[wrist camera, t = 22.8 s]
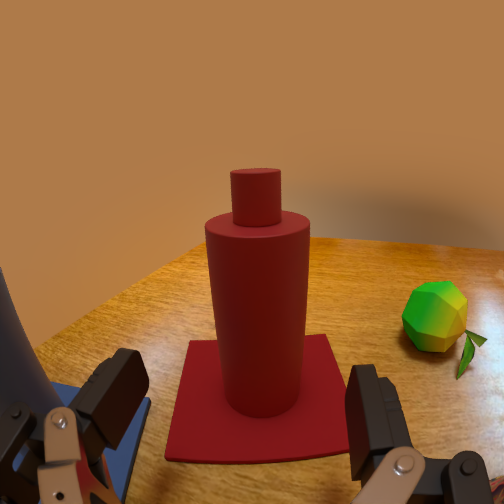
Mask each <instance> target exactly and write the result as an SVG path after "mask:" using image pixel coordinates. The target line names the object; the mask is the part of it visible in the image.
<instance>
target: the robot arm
mask: <svg viewBox="0 0 504 504" xmlns="http://www.w3.org/2000/svg"><path fill="white" fill-rule="evenodd" d="M148 388H149V377H148V374H147V372H146V369H145V366H144V363H143V360H142V357H141V354H140V352H139V351H137V350H131V349H126V348H119V349H118V350H117V351H116V353H115V354H114V355H113V357H112V358H108V359H106V360H105V361H103V362H102V363H101V364H99V365H98V367H97V368H96V369H95V370H94V372H93V375H91V376H90V377H89V378H88V381H87V382H85V384H84V385H83V386H82V388H81V389H80V390H79V392H78V393H77V394H76V396H75V397H74V399H73V400H72V401H71V403H70V404H69V405H68V406H67V407H57V408H54V409H52V410H51V411H50V412H49V413H48V414H43V413H35V412H32V410H31V409H30V408H29V406H28V405H27V404H26V403H24V402H15V403H13V404H11V405H10V406H9V407H8V408H7V409H6V410H5V412H4V413H3V414H2V416H1V417H0V504H38V503H39V501H40V499H41V504H122V503H121V501H120V500H119V498H118V497H117V495H116V493H115V491H114V487H113V484H112V481H111V477H110V474H109V470H108V466H107V463H106V459H105V455H104V453H103V451H104V449H105V447H106V448H109V449H112V450H115V451H116V450H117V448H118V446H119V444H120V442H121V440H122V438H123V436H124V434H125V433H126V431H127V429H128V427H129V425H130V423H131V421H132V419H133V417H134V416H135V414H136V412H137V410H138V408H139V406H140V404H141V403H142V401H143V399H144V397H145V395H146V393H147V391H148ZM401 408H402V407H401V404H400V400H399V397H398V394H397V391H396V388H395V386H394V385H393V384H392V383H391V381H390V380H389V379H388V378H387V377H382V378H378V376H377V373H376V369H375V366H374V365H373V364H366V365H353V366H352V369H351V373H350V377H349V381H348V385H347V389H346V393H345V415H346V423H347V432H348V442H349V452H350V464H351V477H352V481H358V480H361V488H362V489H361V490H360V492H359V493H358V494H357V496H356V497H355V498H354V499H353V501H352V502H351V503H350V504H494V501H493V496H492V491H491V487H490V482H489V478H488V474H487V470H486V467H485V463H484V460H483V459H482V457H481V456H480V455H479V454H478V453H476V452H473V451H462V452H460V453H458V454H457V455H455V456H454V457H453V458H452V459H432V458H427V457H424V456H423V455H422V454H421V453H420V452H419V451H418V450H416V449H414V447H413V446H412V443H411V439H410V436H409V432H408V428H407V425H406V421H405V417H404V414H403V411H402V410H401ZM23 444H25V445H26V446H27V448H28V449H29V450H28V452H27V454H26V455H25V457H24V459H23V460H22V462H21V464H20V466H19V467H18V469H17V470H16V471H14V469H13V461H14V459H15V458H16V456H17V454H18V453H19V451H20V449H21V448H22V446H23Z"/></svg>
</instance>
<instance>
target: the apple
mask: <svg viewBox="0 0 504 504" xmlns="http://www.w3.org/2000/svg"><path fill="white" fill-rule="evenodd" d="M467 306H468V300H467V299H466V298H465V297H464V296H463V294H462V293H461V292H460V291H459V290H458V289H457V288H456V287H455V285H454V284H453V283H452V282H451V281H442V282H428V283H424V284H423V285H421V286H419V287H418V288H416V289H414V290H413V291H412V294H411V296H410V298H409V300H408V302H407V305H406V307H405V309H404V311H403V314H402V321H403V326H404V330H405V332H406V333H407V335H408V336H409V337H410V339H411V340H412V342H413V343H414V345H415V346H416V347H417V349H418V350H419V351H431V352H445V351H446V350H447V349H448V348H449V347H450V346H451V345H452V344H453V343H454V342H455V341H456V340H457V339H458V338H459V337H460V336H461V335H462V334H463V333H464V332H465V333H466V334H467V338H466V342H465V347H464V350H463V354H462V358H461V363H460V368H459V372H458V377H457V379H458V378H459V376H460V375H461V374H462V373H463V371H464V370H465V368H466V367H467V366H468V364H469V363H470V362H471V360H472V359H473V357H474V352H475V346H474V344H473V343H472V341H471V339H472V340H473V341H474V342H475V343H476V344H477V345H478V346H479V347H480V346H481V345H482V344H483V343H484V342H485V341H486V340H487V339H486V338H484V337H482V336H479V335H477V334H475V333H473V332H470V331H468V330H466V321H467ZM470 338H471V339H470Z"/></svg>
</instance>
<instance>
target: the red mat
mask: <svg viewBox="0 0 504 504" xmlns="http://www.w3.org/2000/svg"><path fill="white" fill-rule="evenodd" d="M345 393H346V386H345V384H344V381H343V378H342V376H341V373H340V370H339V368H338V365H337V362H336V360H335V357H334V355H333V352H332V349H331V347H330V344H329V342H328V339H327V337H326V334H317V335H306V336H305V338H304V350H303V361H302V372H301V382H300V391H299V396H298V399H297V401H296V402H295V404H294V405H293V406H292V407H291V408H290V409H289V410H287V411H286V412H284V413H282V414H280V415H277V416H273V417H268V418H254V417H249V416H246V415H243V414H241V413H239V412H238V411H236V410H235V409H234V408H233V407H232V406H231V405H230V404H229V403H228V401H227V399H226V396H225V390H224V383H223V377H222V370H221V363H220V356H219V349H218V342H217V340H190V342H189V346H188V350H187V354H186V359H185V363H184V367H183V371H182V376H181V380H180V384H179V389H178V393H177V398H176V402H175V407H174V412H173V416H172V421H171V426H170V431H169V436H168V440H167V445H166V451H165V456H164V457H165V459H166V460H169V461H179V462H192V463H211V464H252V463H271V462H284V461H294V460H303V459H310V458H317V457H324V456H330V455H336V454H341V453H346V452H349V442H348V432H347V423H346V415H345Z"/></svg>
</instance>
